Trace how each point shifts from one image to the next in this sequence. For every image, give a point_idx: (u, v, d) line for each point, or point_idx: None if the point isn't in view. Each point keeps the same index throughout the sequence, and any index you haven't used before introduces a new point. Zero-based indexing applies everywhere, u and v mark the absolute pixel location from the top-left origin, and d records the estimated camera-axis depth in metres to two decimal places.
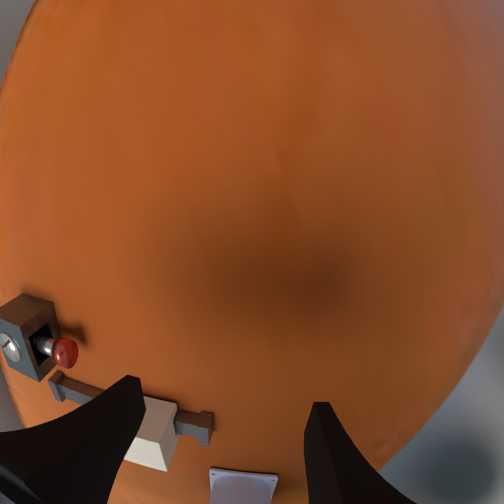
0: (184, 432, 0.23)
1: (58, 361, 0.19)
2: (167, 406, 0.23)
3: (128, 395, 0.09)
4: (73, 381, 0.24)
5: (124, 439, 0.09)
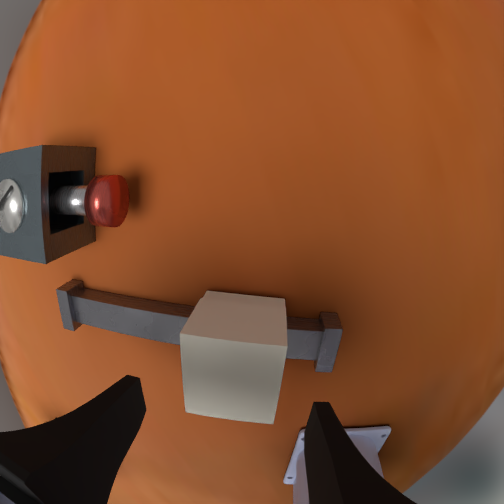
0: (294, 352, 0.16)
1: (95, 206, 0.12)
2: (272, 302, 0.16)
3: (128, 395, 0.09)
4: (98, 291, 0.18)
5: (124, 439, 0.09)
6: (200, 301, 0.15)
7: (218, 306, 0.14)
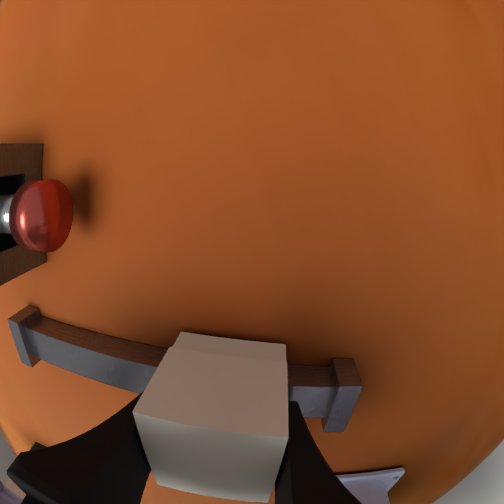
0: None
1: (20, 224, 0.07)
2: (269, 351, 0.11)
3: None
4: (55, 322, 0.13)
5: None
6: (168, 352, 0.10)
7: (192, 362, 0.10)
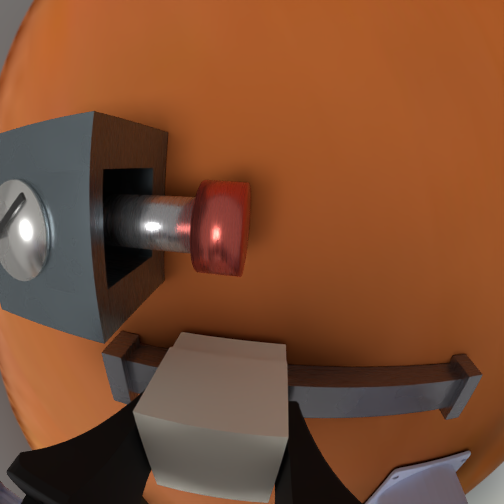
0: (430, 404, 0.11)
1: (218, 242, 0.07)
2: (269, 351, 0.11)
3: None
4: (166, 351, 0.13)
5: None
6: (169, 353, 0.10)
7: (192, 362, 0.10)
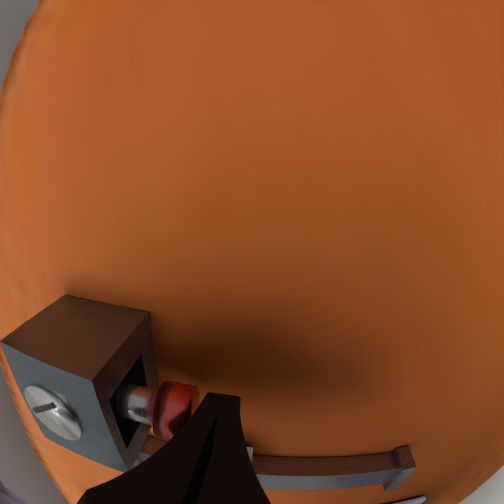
0: (370, 482, 0.13)
1: (171, 437, 0.09)
2: None
3: (219, 414, 0.09)
4: None
5: None
6: None
7: None
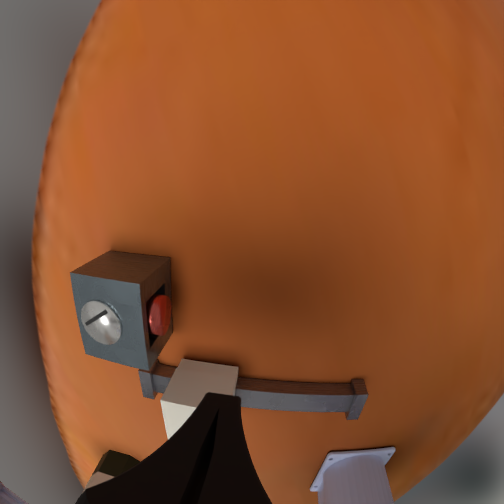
0: (333, 408, 0.20)
1: (149, 325, 0.16)
2: (228, 370, 0.21)
3: (218, 414, 0.09)
4: (174, 368, 0.22)
5: (210, 460, 0.09)
6: (176, 371, 0.20)
7: (188, 376, 0.19)
